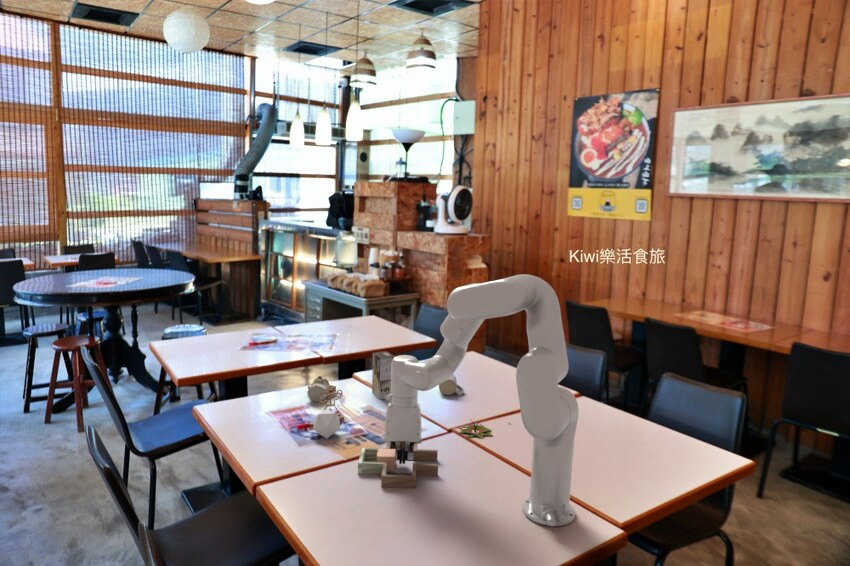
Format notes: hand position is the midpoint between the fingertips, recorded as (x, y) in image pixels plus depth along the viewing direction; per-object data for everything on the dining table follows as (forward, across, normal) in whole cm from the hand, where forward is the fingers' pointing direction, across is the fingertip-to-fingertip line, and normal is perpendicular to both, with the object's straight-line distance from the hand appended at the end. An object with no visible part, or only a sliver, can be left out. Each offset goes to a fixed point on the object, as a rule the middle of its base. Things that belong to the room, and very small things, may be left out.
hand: (402, 461), depth 163 cm
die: (+2, -25, +20) cm, 32 cm away
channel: (+1, -1, 0) cm, 2 cm away
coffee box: (+2, -10, +59) cm, 60 cm away
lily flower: (+2, +23, +26) cm, 35 cm away
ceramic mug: (+2, +16, +64) cm, 66 cm away
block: (+1, -5, 0) cm, 5 cm away
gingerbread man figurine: (+2, -26, +33) cm, 42 cm away
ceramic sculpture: (+2, -34, +54) cm, 64 cm away
